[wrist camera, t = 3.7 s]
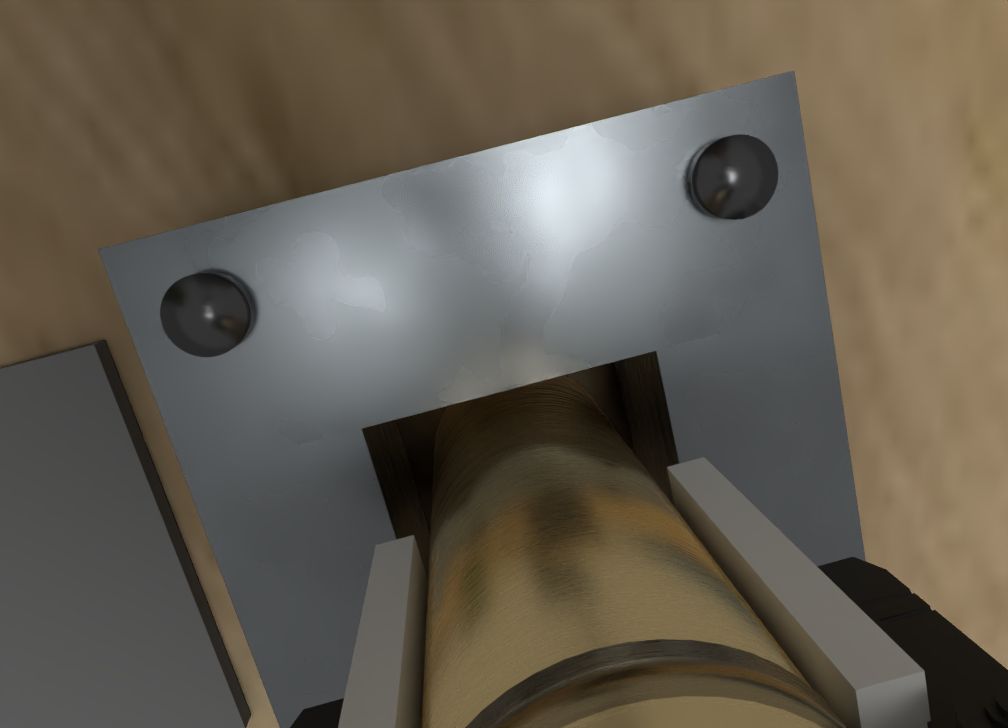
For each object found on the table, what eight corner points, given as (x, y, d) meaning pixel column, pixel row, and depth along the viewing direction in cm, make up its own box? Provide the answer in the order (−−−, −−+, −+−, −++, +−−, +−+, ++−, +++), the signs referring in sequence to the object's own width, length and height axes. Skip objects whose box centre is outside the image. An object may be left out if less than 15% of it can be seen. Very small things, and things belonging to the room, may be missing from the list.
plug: (411, 389, 20) (336, 787, 6) (587, 342, 20) (890, 635, 6) (458, 549, 21) (481, 1180, 7) (624, 505, 21) (947, 1045, 8)
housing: (189, 238, 19) (82, 251, 13) (704, 105, 19) (809, 65, 13) (365, 742, 22) (339, 916, 17) (795, 624, 23) (906, 757, 17)
